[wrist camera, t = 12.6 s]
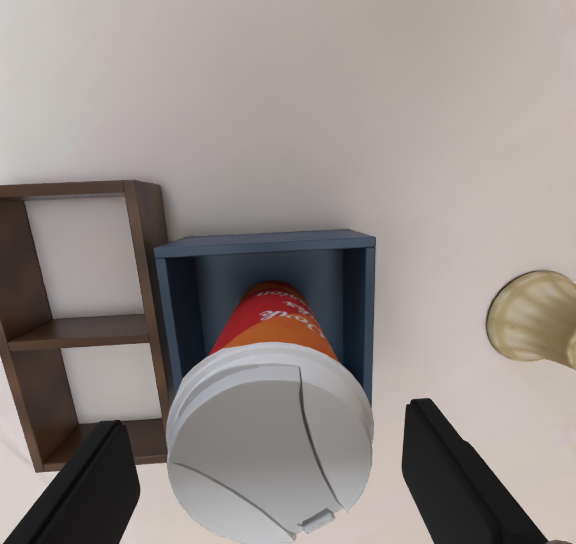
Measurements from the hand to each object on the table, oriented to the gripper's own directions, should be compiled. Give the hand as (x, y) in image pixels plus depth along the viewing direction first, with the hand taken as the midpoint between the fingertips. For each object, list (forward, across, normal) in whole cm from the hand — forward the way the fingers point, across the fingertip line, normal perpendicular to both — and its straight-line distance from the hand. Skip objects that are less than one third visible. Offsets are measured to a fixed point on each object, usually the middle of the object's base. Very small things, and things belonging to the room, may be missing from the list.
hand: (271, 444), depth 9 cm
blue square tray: (+14, 0, +1) cm, 14 cm away
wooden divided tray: (+14, +13, +1) cm, 19 cm away
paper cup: (+14, 0, +1) cm, 14 cm away
